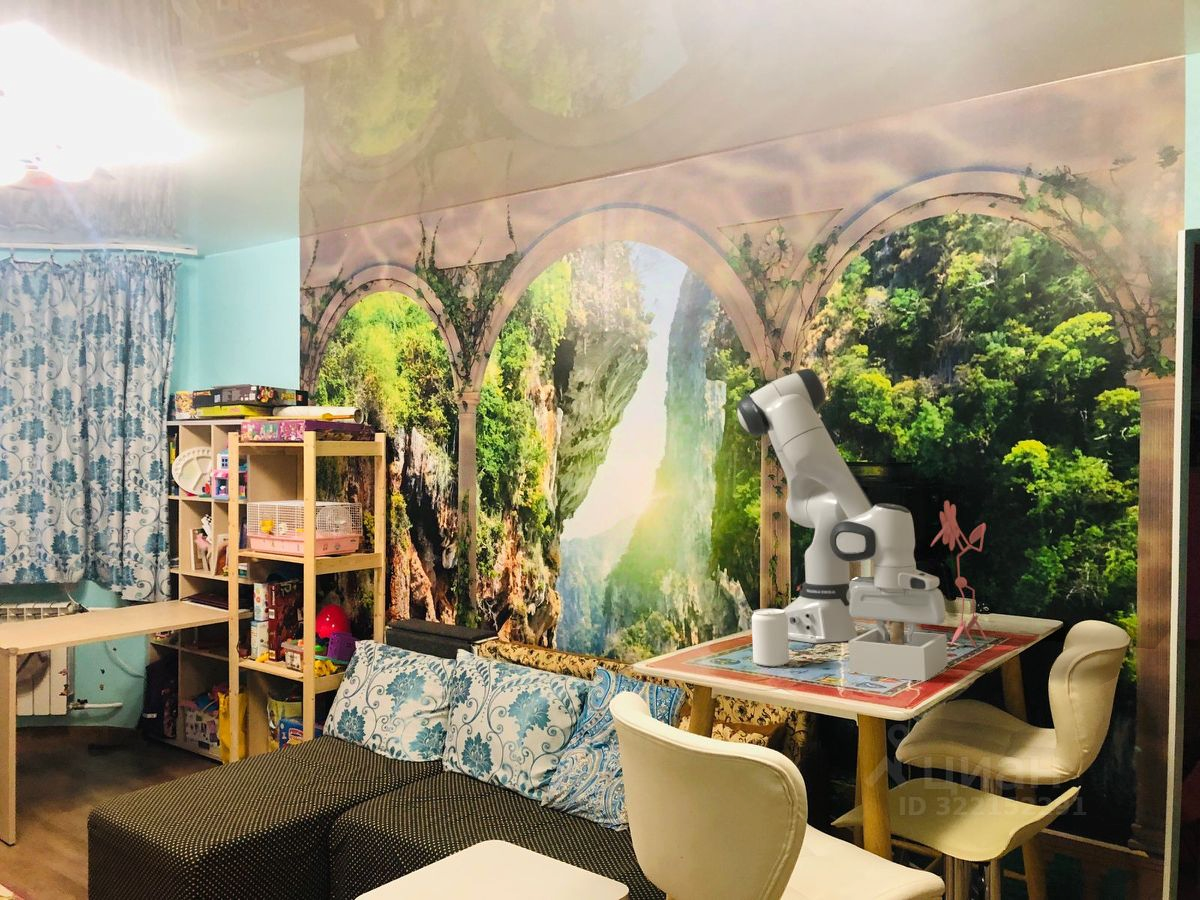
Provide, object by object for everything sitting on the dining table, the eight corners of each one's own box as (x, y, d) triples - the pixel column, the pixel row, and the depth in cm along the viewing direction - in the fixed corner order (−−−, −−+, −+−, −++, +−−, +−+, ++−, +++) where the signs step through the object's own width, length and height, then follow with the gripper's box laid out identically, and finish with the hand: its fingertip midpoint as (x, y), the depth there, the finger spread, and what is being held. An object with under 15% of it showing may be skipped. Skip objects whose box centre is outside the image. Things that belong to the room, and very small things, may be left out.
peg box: (849, 673, 195) (848, 641, 195) (875, 659, 208) (874, 628, 208) (925, 682, 186) (923, 648, 186) (947, 666, 199) (946, 634, 199)
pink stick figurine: (1000, 634, 230) (991, 496, 231) (968, 654, 210) (958, 503, 211) (939, 630, 239) (930, 498, 240) (903, 648, 219) (893, 504, 220)
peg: (888, 662, 197) (887, 615, 197) (893, 659, 199) (891, 613, 199) (902, 663, 195) (900, 616, 195) (907, 660, 197) (905, 614, 197)
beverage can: (746, 662, 210) (744, 610, 210) (776, 658, 213) (773, 607, 213) (766, 669, 202) (764, 615, 202) (796, 664, 205) (794, 611, 205)
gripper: (843, 577, 201) (845, 640, 201) (938, 582, 189) (940, 649, 188) (854, 574, 206) (856, 635, 206) (946, 578, 194) (949, 643, 194)
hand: (897, 641), depth 197 cm, fingers closed on peg, 3 cm apart
